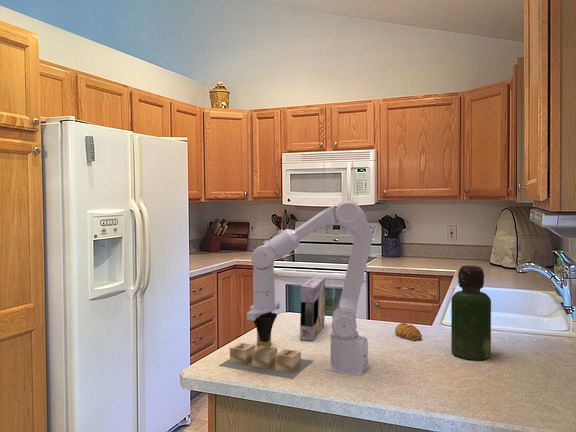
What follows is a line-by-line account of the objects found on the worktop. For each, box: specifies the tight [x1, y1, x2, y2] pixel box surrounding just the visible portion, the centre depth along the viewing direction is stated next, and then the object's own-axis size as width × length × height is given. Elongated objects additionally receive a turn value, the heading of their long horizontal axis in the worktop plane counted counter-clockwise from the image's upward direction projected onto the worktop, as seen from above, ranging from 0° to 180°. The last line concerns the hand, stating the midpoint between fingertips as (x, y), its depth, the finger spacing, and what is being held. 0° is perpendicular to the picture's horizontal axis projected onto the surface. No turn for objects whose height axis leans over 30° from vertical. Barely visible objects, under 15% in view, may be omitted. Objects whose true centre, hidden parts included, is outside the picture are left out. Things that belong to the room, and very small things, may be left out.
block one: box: [275, 348, 302, 373], centre depth 121 cm, size 5×5×4 cm
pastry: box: [394, 322, 423, 341], centre depth 149 cm, size 9×7×4 cm
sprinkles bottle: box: [256, 330, 272, 348], centre depth 140 cm, size 5×5×13 cm
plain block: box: [252, 346, 278, 369], centre depth 124 cm, size 5×5×4 cm
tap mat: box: [217, 358, 315, 380], centre depth 125 cm, size 22×14×1 cm, turn 64°
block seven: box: [229, 342, 256, 365], centre depth 127 cm, size 5×5×4 cm
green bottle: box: [450, 265, 492, 361], centre depth 131 cm, size 10×10×25 cm
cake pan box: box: [299, 276, 326, 342], centre depth 154 cm, size 19×5×18 cm, turn 164°
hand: (264, 341), depth 124 cm, fingers closed
